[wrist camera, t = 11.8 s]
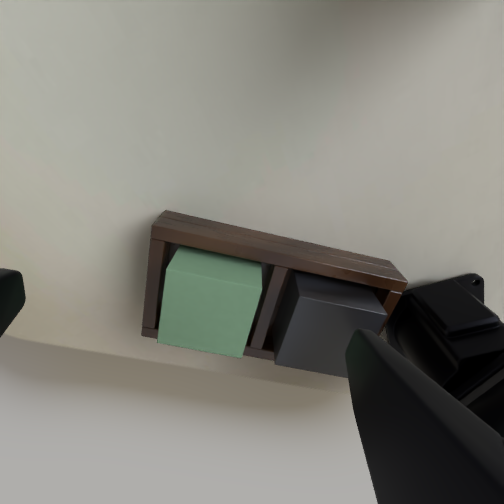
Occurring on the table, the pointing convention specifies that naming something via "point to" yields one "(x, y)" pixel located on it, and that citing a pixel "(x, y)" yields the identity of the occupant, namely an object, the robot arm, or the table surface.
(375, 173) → the table surface
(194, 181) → the table surface
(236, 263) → the green block
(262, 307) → the wooden divided tray
